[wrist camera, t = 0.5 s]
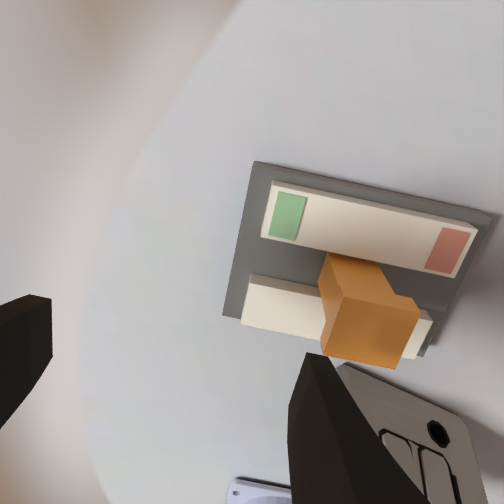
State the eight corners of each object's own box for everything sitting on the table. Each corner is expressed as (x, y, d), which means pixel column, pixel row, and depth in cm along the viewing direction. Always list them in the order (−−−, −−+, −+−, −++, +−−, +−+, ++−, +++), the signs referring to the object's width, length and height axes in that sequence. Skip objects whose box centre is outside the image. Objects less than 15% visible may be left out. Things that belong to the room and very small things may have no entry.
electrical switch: (465, 415, 23) (556, 614, 15) (411, 457, 25) (464, 647, 17) (335, 355, 22) (357, 536, 14) (292, 405, 24) (289, 583, 16)
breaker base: (415, 342, 21) (430, 371, 19) (225, 303, 21) (219, 327, 19) (479, 210, 18) (506, 227, 16) (253, 161, 17) (251, 171, 15)
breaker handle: (365, 300, 19) (394, 369, 14) (311, 288, 18) (322, 354, 14) (383, 253, 17) (421, 313, 13) (326, 241, 17) (343, 296, 13)
